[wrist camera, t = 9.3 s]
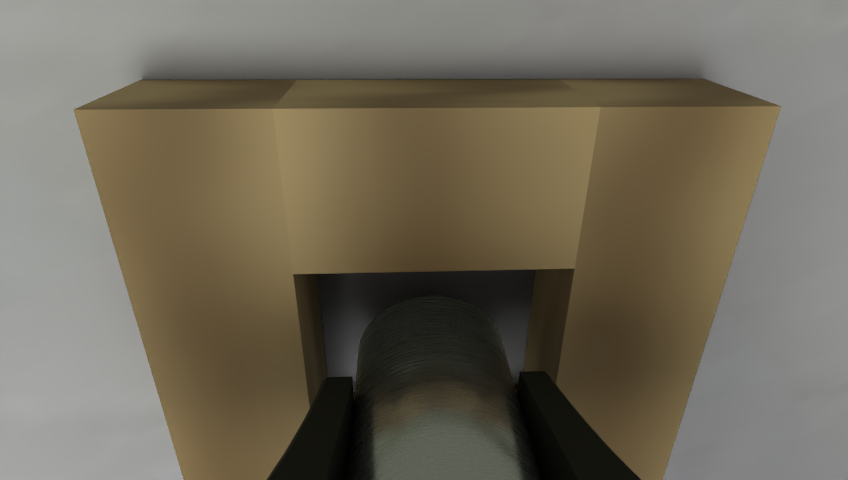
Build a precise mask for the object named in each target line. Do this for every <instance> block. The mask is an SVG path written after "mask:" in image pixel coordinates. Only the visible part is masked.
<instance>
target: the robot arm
mask: <svg viewBox="0 0 848 480" xmlns="http://www.w3.org/2000/svg"><path fill="white" fill-rule="evenodd" d="M517 396H518V399H519V403H520V406H521V410H522V413H523V417H524V420H525V424H526V427H527V431H528V434H529V438H530V441H531V445H532V448H533V452H534V455H535V458H536V462H537V465H538V469H539V472H540V476H541V479H542V480H641V479H640V478H639V477H638V476H637V475H636V474H635V473H634V472H633V471H632V470H631V469H630V468H629V467H628V466H627V465H626V464H625V463H624V462H623V461H622V460H621V459H620V458H619V457H618V456H617V455H616V454H615V453H614V452H613V451H612V450H611V448H610V447H609V446H608V445H607V444H606V443H605V442H604V441H603V440H602V439H601V438H600V436H599V435H598V434H597V433H596V432H595V431H594V430H593V429H592V427H591V426H590V425H589V424H588V423H587V422H586V421H585V419H584V418H583V417H582V416H581V415H580V414H579V412H578V411H577V410H576V409H575V407H574V406H573V405H572V404H571V403H570V401H569V400H568V399H567V398H566V396H565V395H564V394H563V393H562V391H561V390H560V389H559V388H558V386H557V385H556V384H555V382H554V381H553V380H552V379H551V377H550V376H549V375H548V374H547V373H546V372H545V371H528V372H520V375H519V384H518V392H517ZM353 407H354V396H353V382H352V377H327V378H326V379H324V380H323V381H322V383H321V386H320V388H319V390H318V393H317V395H316V397H315V399H314V401H313V403H312V405H311V407H310V409H309V411H308V413H307V415H306V417H305V419H304V420H303V422H302V424H301V426H300V427H299V429H298V431H297V433H296V434H295V436H294V438H293V439H292V441H291V443H290V445H289V446H288V448H287V449H286V451H285V453H284V454H283V456H282V457H281V459H280V460H279V462H278V463H277V465H276V466H275V468H274V469H273V471H272V472H271V474H270V475H269V477H268V478H267V480H347V474H348V463H349V452H350V441H351V430H352V419H353Z"/></svg>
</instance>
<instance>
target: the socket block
mask: <svg viewBox="0 0 848 480" xmlns="http://www.w3.org/2000/svg"><path fill="white" fill-rule="evenodd" d="M780 108H781V106H779V105H776V104H773V103H770V102H767V101H765V100H762V99H759V98H756V97H753V96H751V95H748V94H745V93H742V92H739V91H736V90H734V89H731V88H728V87H725V86H722V85H720V84H717V83H714V82H711V81H708V80H706V79H417V80H140V81H137V82H135V83H133V84H131V85H128V86H126V87H124V88H122V89H119V90H117V91H115V92H113V93H110V94H108V95H106V96H104V97H101V98H99V99H97V100H94V101H92V102H90V103H88V104H85V105H83V106H81V107H79V108H76V109H74V113H75V116H76V119H77V123H78V126H79V129H80V133H81V136H82V139H83V143H84V146H85V149H86V153H87V156H88V160H89V163H90V166H91V170H92V173H93V176H94V180H95V183H96V186H97V190H98V193H99V196H100V200H101V203H102V207H103V210H104V213H105V217H106V220H107V223H108V227H109V230H110V233H111V237H112V240H113V244H114V247H115V250H116V254H117V257H118V260H119V264H120V267H121V270H122V274H123V277H124V280H125V284H126V287H127V291H128V294H129V297H130V301H131V304H132V307H133V311H134V314H135V317H136V321H137V324H138V327H139V331H140V334H141V338H142V341H143V344H144V348H145V351H146V354H147V358H148V361H149V364H150V368H151V371H152V375H153V378H154V381H155V385H156V388H157V391H158V395H159V398H160V401H161V405H162V408H163V411H164V415H165V418H166V422H167V425H168V428H169V432H170V435H171V438H172V442H173V445H174V448H175V452H176V455H177V458H178V462H179V465H180V469H181V472H182V475H183V479H184V480H267V478H268V477H269V475H270V474H271V472H272V471H273V469H274V468H275V466H276V465H277V463H278V462H279V460H280V459H281V457H282V456H283V454H284V453H285V451H286V449H287V448H288V446H289V445H290V443H291V441H292V439H293V438H294V436H295V434H296V433H297V431H298V429H299V427H300V426H301V424H302V422H303V420H304V419H305V417H306V415H307V413H308V411H309V409H310V407H311V405H312V403H313V401H314V399H315V397H316V395H317V393H318V390H319V388H320V386H321V383H322V381H323V380H324V379H326V378H327V370H326V360H325V350H324V340H323V330H322V320H321V310H320V300H319V290H318V280H317V274H331V273H380V272H429V271H479V270H528V269H536V271H535V279H534V287H533V296H532V304H531V312H530V320H529V328H528V337H527V345H526V353H525V361H524V370H523V372H528V371H545V372H546V373H547V374H548V375H549V376H550V377H551V379H552V380H553V381H554V382H555V384H556V385H557V386H558V388H559V389H560V390H561V391H562V393H563V394H564V395H565V396H566V398H567V399H568V400H569V401H570V403H571V404H572V405H573V406H574V407H575V409H576V410H577V411H578V412H579V414H580V415H581V416H582V417H583V418H584V419H585V421H586V422H587V423H588V424H589V425H590V426H591V427H592V429H593V430H594V431H595V432H596V433H597V434H598V435H599V436H600V438H601V439H602V440H603V441H604V442H605V443H606V444H607V445H608V446H609V447H610V448H611V450H612V451H613V452H614V453H615V454H616V455H617V456H618V457H619V458H620V459H621V460H622V461H623V462H624V463H625V464H626V465H627V466H628V467H629V468H630V469H631V470H632V471H633V472H634V473H635V474H636V475H637V476H638V477H639V478H640V479H641V480H662V479H663V476H664V473H665V470H666V467H667V464H668V461H669V457H670V454H671V451H672V448H673V445H674V442H675V438H676V435H677V432H678V429H679V426H680V423H681V420H682V416H683V413H684V410H685V407H686V404H687V401H688V398H689V394H690V391H691V388H692V385H693V382H694V379H695V375H696V372H697V369H698V366H699V363H700V360H701V357H702V353H703V350H704V347H705V344H706V341H707V338H708V335H709V331H710V328H711V325H712V322H713V319H714V316H715V312H716V309H717V306H718V303H719V300H720V297H721V294H722V290H723V287H724V284H725V281H726V278H727V275H728V271H729V268H730V265H731V262H732V259H733V256H734V253H735V249H736V246H737V243H738V240H739V237H740V234H741V231H742V227H743V224H744V221H745V218H746V215H747V212H748V208H749V205H750V202H751V199H752V196H753V193H754V190H755V186H756V183H757V180H758V177H759V174H760V171H761V168H762V164H763V161H764V158H765V155H766V152H767V149H768V145H769V142H770V139H771V136H772V133H773V130H774V127H775V123H776V120H777V117H778V114H779V111H780ZM517 392H518V389H516V393H517ZM353 396H355V394H353Z"/></svg>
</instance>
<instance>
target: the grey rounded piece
mask: <svg viewBox="0 0 848 480" xmlns="http://www.w3.org/2000/svg"><path fill="white" fill-rule="evenodd" d="M347 480H542V479H541V476H540V472H539V469H538V465H537V462H536V458H535V455H534V452H533V448H532V445H531V441H530V438H529V434H528V431H527V427H526V424H525V420H524V417H523V413H522V410H521V406H520V403H519V399H518V396H517V393H516V389H515V386H514V382H513V379H512V375H511V372H510V368H509V365H508V361H507V358H506V354H505V351H504V347H503V344H502V340H501V337H500V334H499V332H498V330H497V328H496V326H495V325H494V323H493V322H492V320H491V319H490V318H489V317H488V316H487V315H486V314H485V313H484V312H482V311H481V310H480V309H478V308H477V307H475V306H473V305H471V304H469V303H467V302H465V301H462V300H459V299H455V298H450V297H444V296H424V297H417V298H412V299H409V300H405V301H403V302H400V303H397V304H395V305H393V306H391V307H389V308H388V309H386V310H385V311H383V312H382V313H381V314H379V315H378V316H377V317H376V318H375V319H374V320H373V321H372V322H371V323H370V325H369V326H368V327H367V329H366V330H365V332H364V334H363V336H362V338H361V341H360V345H359V351H358V362H357V373H356V385H355V396H354V407H353V419H352V430H351V441H350V452H349V463H348V474H347Z"/></svg>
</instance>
